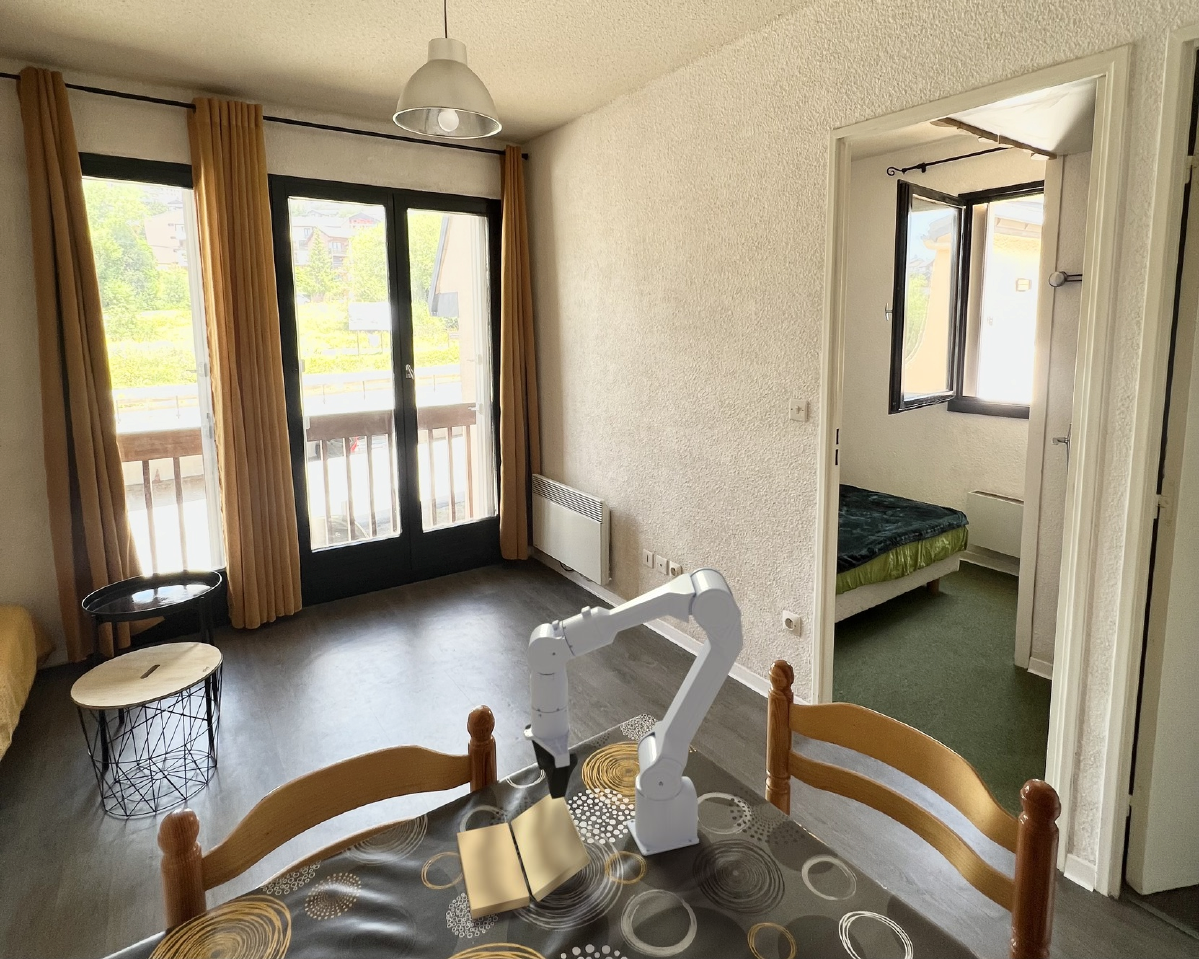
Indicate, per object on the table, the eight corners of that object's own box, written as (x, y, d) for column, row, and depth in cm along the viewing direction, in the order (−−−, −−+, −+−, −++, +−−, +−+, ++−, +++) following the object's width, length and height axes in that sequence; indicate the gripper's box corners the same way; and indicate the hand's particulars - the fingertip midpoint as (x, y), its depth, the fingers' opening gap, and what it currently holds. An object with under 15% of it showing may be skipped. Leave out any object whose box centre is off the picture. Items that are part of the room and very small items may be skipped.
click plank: (562, 793, 121) (557, 787, 121) (591, 861, 106) (586, 855, 106) (515, 828, 120) (510, 821, 119) (538, 901, 105) (532, 895, 104)
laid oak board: (507, 830, 120) (507, 822, 119) (529, 905, 105) (529, 896, 104) (457, 841, 117) (456, 833, 117) (472, 919, 102) (471, 909, 102)
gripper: (513, 684, 119) (516, 760, 122) (534, 732, 106) (537, 816, 109) (556, 677, 121) (558, 752, 124) (582, 723, 108) (584, 806, 111)
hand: (551, 781), depth 117 cm, fingers open, 7 cm apart
